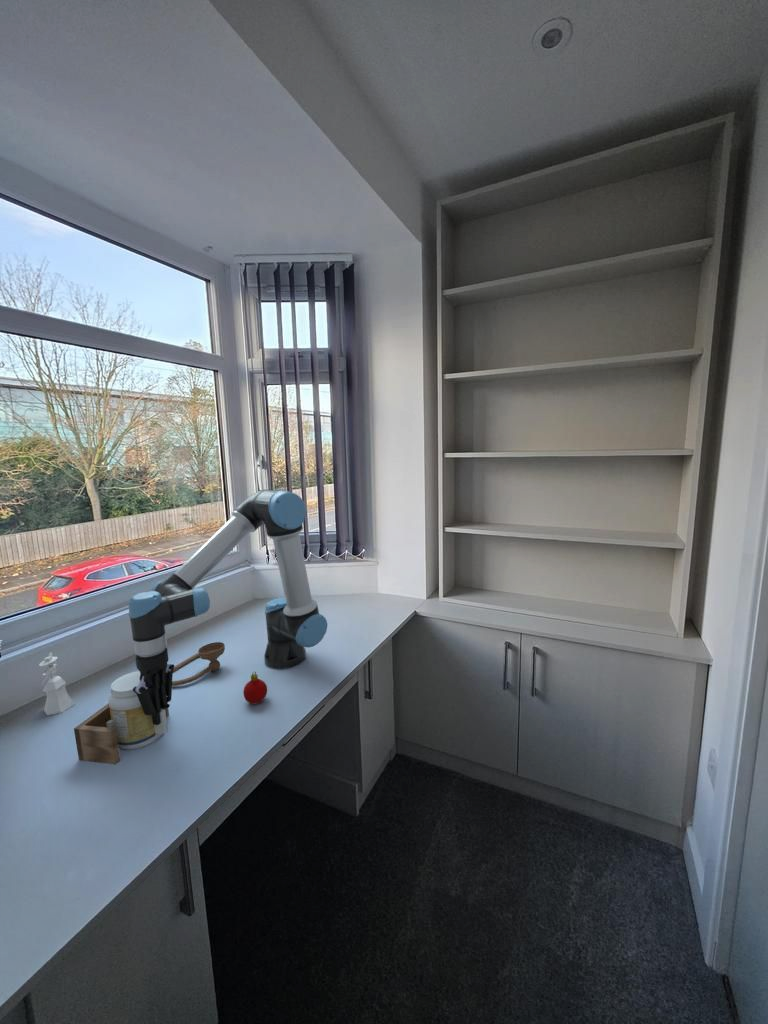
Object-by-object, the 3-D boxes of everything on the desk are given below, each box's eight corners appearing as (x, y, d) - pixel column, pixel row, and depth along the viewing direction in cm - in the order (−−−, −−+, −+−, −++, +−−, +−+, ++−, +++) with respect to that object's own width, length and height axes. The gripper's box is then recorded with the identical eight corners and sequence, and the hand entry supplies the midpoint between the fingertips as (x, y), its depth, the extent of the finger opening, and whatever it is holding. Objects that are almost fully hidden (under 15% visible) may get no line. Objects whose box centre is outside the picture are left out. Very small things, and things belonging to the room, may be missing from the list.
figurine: (47, 705, 134) (38, 652, 132) (77, 698, 137) (69, 646, 135) (39, 717, 128) (29, 662, 125) (71, 710, 131) (62, 656, 128)
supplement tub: (134, 722, 124) (127, 668, 122) (174, 723, 123) (167, 668, 120) (104, 751, 112) (95, 692, 110) (147, 753, 111) (139, 693, 108)
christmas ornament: (258, 710, 127) (256, 679, 126) (239, 706, 130) (236, 675, 128) (272, 697, 134) (270, 667, 133) (254, 693, 136) (251, 664, 135)
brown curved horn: (151, 687, 145) (192, 693, 137) (146, 663, 144) (188, 668, 136) (204, 655, 167) (243, 659, 159) (200, 633, 166) (239, 637, 158)
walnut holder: (169, 715, 127) (164, 680, 125) (115, 764, 107) (109, 723, 105) (137, 712, 129) (132, 677, 127) (78, 760, 109) (72, 719, 107)
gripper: (156, 639, 119) (165, 716, 122) (119, 662, 106) (131, 747, 110) (179, 640, 117) (189, 718, 121) (145, 664, 105) (157, 750, 108)
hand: (161, 732), depth 115 cm, fingers closed
